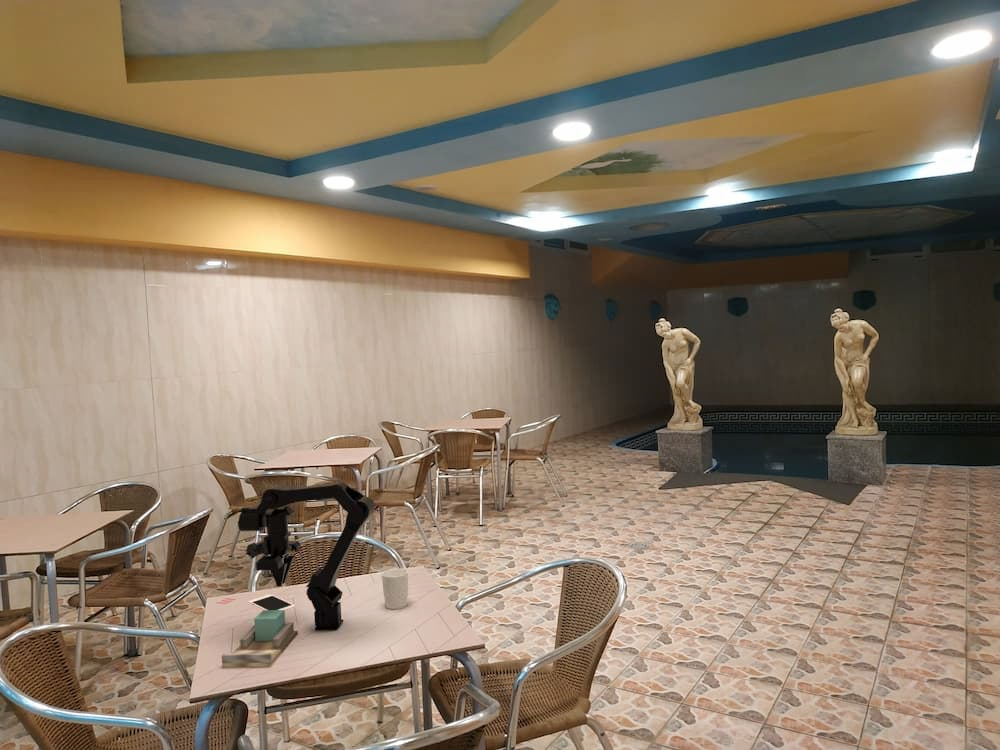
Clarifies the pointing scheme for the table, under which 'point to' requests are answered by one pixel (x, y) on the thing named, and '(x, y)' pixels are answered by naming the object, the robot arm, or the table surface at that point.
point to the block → (268, 624)
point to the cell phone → (271, 603)
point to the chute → (260, 649)
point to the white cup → (395, 588)
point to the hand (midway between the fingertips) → (280, 584)
